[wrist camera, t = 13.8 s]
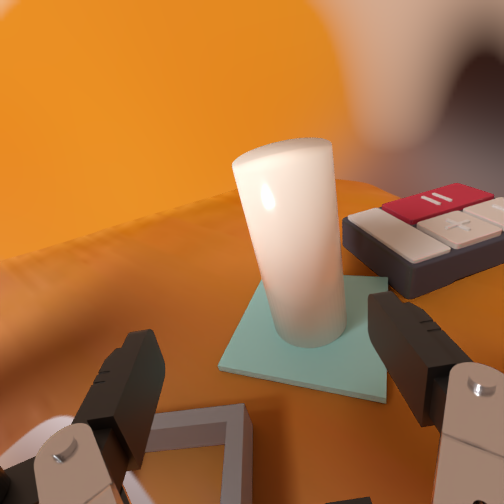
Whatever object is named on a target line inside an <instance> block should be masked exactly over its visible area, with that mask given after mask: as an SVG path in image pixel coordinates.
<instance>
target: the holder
mask: <svg viewBox="0 0 504 504" xmlns="http://www.w3.org/2000/svg"><path fill="white" fill-rule="evenodd" d="M223 444H225V451H224V463H223V475H222V488H221V500H220V504H252V470H253V424H252V422H251V419H250V417H249V414H248V412H247V409H246V407H245V404H244V403H241V404H233V405H224V406H216V407H207V408H199V409H190V410H182V411H174V412H165V413H157V414H155V415H154V419H153V423H152V427H151V431H150V434H149V438H148V442H147V446H146V449H145V452H154V451H164V450H174V449H184V448H194V447H203V446H213V445H223Z"/></svg>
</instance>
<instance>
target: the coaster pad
mask: <svg viewBox="0 0 504 504" xmlns="http://www.w3.org/2000/svg"><path fill="white" fill-rule="evenodd" d="M343 278H344V290H345V301H346V312H347V325H346V328H345V330H344V332H343V333H342V334H341V335H340V336H339V337H338V338H337V339H336V340H335V341H333V342H331V343H329V344H327V345H325V346H321V347H317V348H301V347H296V346H293V345H291V344H289V343H287V342H285V341H284V340H283V339H282V338H281V337H280V336H279V335H278V334H277V332H276V329H275V326H274V322H273V318H272V314H271V311H270V307H269V303H268V299H267V296H266V292H265V288H264V284H263V281H262V280H261V282H260V284H259V285H258V287H257V289H256V291H255V293H254V295H253V297H252V299H251V301H250V303H249V305H248V307H247V309H246V311H245V313H244V315H243V317H242V319H241V321H240V323H239V325H238V327H237V328H236V330H235V332H234V334H233V336H232V338H231V340H230V342H229V344H228V346H227V348H226V350H225V352H224V354H223V356H222V358H221V360H220V362H219V364H218V368H219V370H220V371H225V372H230V373H235V374H240V375H245V376H250V377H255V378H260V379H265V380H270V381H275V382H280V383H285V384H290V385H295V386H300V387H305V388H310V389H315V390H320V391H325V392H330V393H335V394H340V395H345V396H350V397H355V398H360V399H365V400H370V401H375V402H380V403H385V404H386V390H387V369H386V367H385V365H384V364H383V362H382V360H381V359H380V357H379V355H378V354H377V352H376V350H375V349H374V347H373V345H372V343H371V341H370V338H369V334H368V295H369V294H373V293H379V292H385V291H388V277H373V276H351V275H343Z"/></svg>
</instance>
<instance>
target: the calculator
mask: <svg viewBox="0 0 504 504" xmlns="http://www.w3.org/2000/svg"><path fill="white" fill-rule="evenodd" d="M342 229H343V246H344V247H345V248H346V249H347V250H349V251H350V252H351V253H352V254H353V255H355V256H356V257H357V258H358V259H359V260H361V261H362V262H363V263H364V264H365V265H366V266H368V267H369V268H370V269H371V270H372V271H374V272H375V273H376V274H377V275H378V276H380V277H388V284H389V285H390V286H391V287H393V288H394V289H395V290H396V291H397V292H399V293H400V294H401V295H402V296H403V297H405V298H407V299H414V298H416V297H419V296H421V295H424V294H427V293H429V292H432V291H434V290H437V289H439V288H442V287H444V286H447V285H449V284H452V283H453V282H454V281H455V280H458V279H461V278H463V277H466V276H469V275H472V274H475V273H478V272H481V271H484V270H486V269H489V268H492V267H495V266H498V265H500V264H503V263H504V198H503V197H499V198H494V194H491V193H488V192H485V191H482V190H478V189H475V188H472V187H469V186H466V185H462V184H459V183H454V184H451V185H447V186H444V187H440V188H437V189H433V190H430V191H427V192H423V193H420V194H416V195H413V196H410V197H406V198H402V199H399V200H395V201H392V202H388V203H385V204H382V207H380V208H373V209H369V210H366V211H363V212H359V213H356V214H352V215H349V216H348V217H345V218H343V220H342Z"/></svg>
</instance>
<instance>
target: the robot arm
mask: <svg viewBox="0 0 504 504" xmlns="http://www.w3.org/2000/svg"><path fill="white" fill-rule="evenodd" d="M368 334H369V338H370V341H371V343H372V345H373V347H374V349H375V350H376V352H377V354H378V355H379V357H380V359H381V360H382V362H383V364H384V365H385V367H386V369H387V370H388V372H389V374H390V375H391V377H392V379H393V381H394V382H395V384H396V386H397V387H398V389H399V391H400V392H401V394H402V396H403V397H404V399H405V401H406V402H407V404H408V406H409V407H410V409H411V411H412V412H413V414H414V416H415V417H416V419H417V421H418V422H419V424H420V426H421V427H426V426H432V425H435V426H436V428H437V429H438V431H439V432H440V440H439V447H438V454H437V462H436V469H435V476H434V484H433V491H432V498H431V504H504V374H503V373H501V372H500V371H498V370H496V369H494V368H492V367H490V366H487V365H484V364H480V363H474V362H473V361H472V360H471V359H470V358H469V357H468V356H467V355H466V354H465V353H464V352H463V351H462V350H461V348H460V347H459V346H458V345H457V344H456V343H455V342H454V341H453V340H452V339H451V338H450V337H449V336H448V335H447V334H446V333H445V332H444V331H443V330H441V328H440V327H439V326H438V325H437V324H436V322H433V319H432V318H431V317H430V316H429V315H428V314H427V313H426V312H425V311H424V310H423V309H421V308H419V307H417V306H415V305H414V304H412V303H410V302H407V303H402V302H401V301H400V300H399V299H398V297H397V296H396V295H395V294H394V293H393V292H392V291H385V292H379V293H373V294H369V295H368ZM98 373H99V375H97V376H96V378H95V380H94V382H93V385H92V386H91V388H90V389H89V391H88V393H87V395H86V397H85V399H84V401H83V403H82V405H81V407H80V408H79V410H78V412H77V414H76V416H75V418H74V420H73V422H72V424H71V425H69V426H67V427H65V428H63V429H61V430H59V431H58V432H56V433H55V434H54V435H53V436H51V437H50V438H49V439H48V440H47V441H46V442H45V443H44V445H43V446H42V447H41V449H40V450H39V452H38V453H37V455H36V456H35V457H33V458H31V459H28V460H26V461H24V462H22V463H20V464H17V465H15V466H12V467H10V468H8V469H6V470H3V469H2V468H1V466H0V504H131V502H130V499H129V497H128V495H127V492H126V490H125V487H124V486H123V480H124V477H125V474H126V471H131V470H138V469H140V468H141V465H142V461H143V457H144V453H145V449H146V446H147V442H148V438H149V434H150V431H151V427H152V423H153V419H154V415H155V412H156V408H157V404H158V400H159V397H160V393H161V389H162V385H163V382H164V378H165V363H164V359H163V356H162V354H161V351H160V348H159V345H158V343H157V340H156V337H155V335H154V332H153V331H152V330H151V329H147V330H141V331H135V332H130V333H129V334H128V335H127V337H126V339H125V341H124V343H123V346H122V348H117V349H115V350H114V351H113V352H112V353H111V354H110V355H109V356H108V357H107V358H106V360H105V361H104V363H103V365H102V367H101V369H100V370H99V372H98ZM326 504H372V502H371V499H370V497H364V498H357V499H350V500H344V501H337V502H330V503H326Z"/></svg>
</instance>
